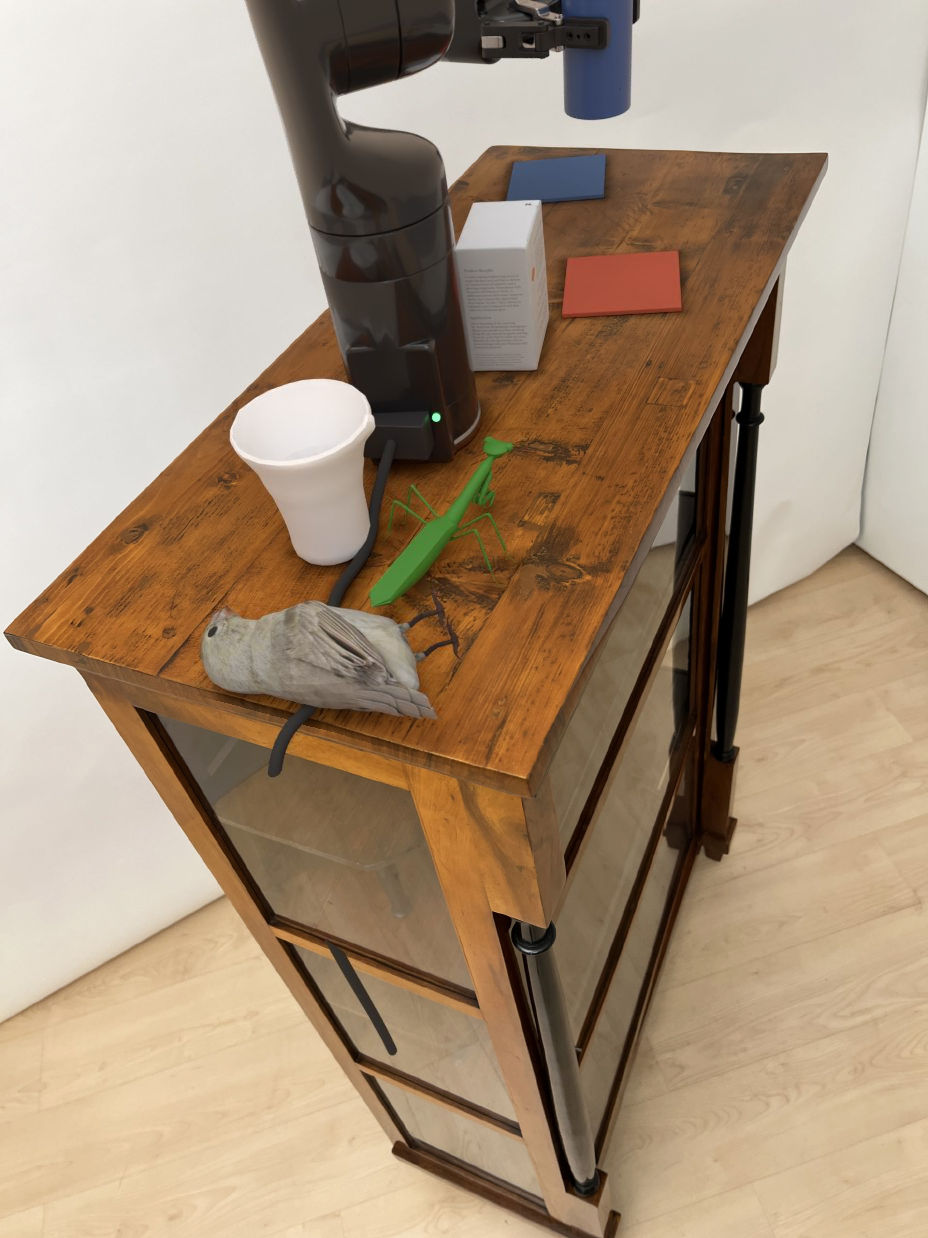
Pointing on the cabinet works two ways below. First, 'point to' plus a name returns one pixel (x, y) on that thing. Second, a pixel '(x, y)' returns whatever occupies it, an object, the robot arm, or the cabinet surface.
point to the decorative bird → (322, 657)
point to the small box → (504, 284)
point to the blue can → (599, 63)
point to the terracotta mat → (622, 284)
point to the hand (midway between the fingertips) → (623, 20)
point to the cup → (311, 462)
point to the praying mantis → (439, 531)
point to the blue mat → (558, 179)
